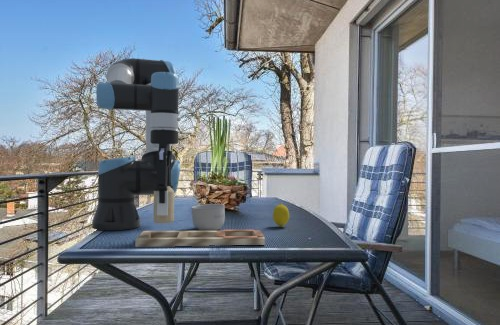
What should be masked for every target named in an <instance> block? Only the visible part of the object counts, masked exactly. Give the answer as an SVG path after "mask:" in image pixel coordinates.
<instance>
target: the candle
mask: <svg viewBox="0 0 500 325" xmlns="http://www.w3.org/2000/svg"><path fill="white" fill-rule="evenodd" d="M167 191H168V215H157V191H154V195H153V223H155V224H170V223H173V222H174V220H175V193H174V190H173V189H172V188H171V187H170V186H167Z"/></svg>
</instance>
